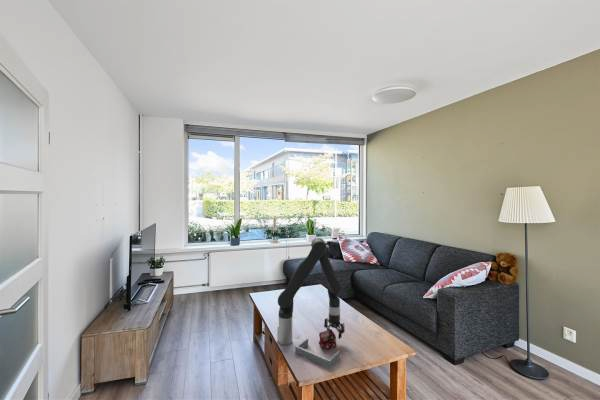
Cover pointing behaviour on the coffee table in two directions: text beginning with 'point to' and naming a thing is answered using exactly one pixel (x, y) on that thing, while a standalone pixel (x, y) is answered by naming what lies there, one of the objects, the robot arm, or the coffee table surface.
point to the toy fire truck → (327, 339)
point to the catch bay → (315, 357)
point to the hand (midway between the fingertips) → (334, 336)
